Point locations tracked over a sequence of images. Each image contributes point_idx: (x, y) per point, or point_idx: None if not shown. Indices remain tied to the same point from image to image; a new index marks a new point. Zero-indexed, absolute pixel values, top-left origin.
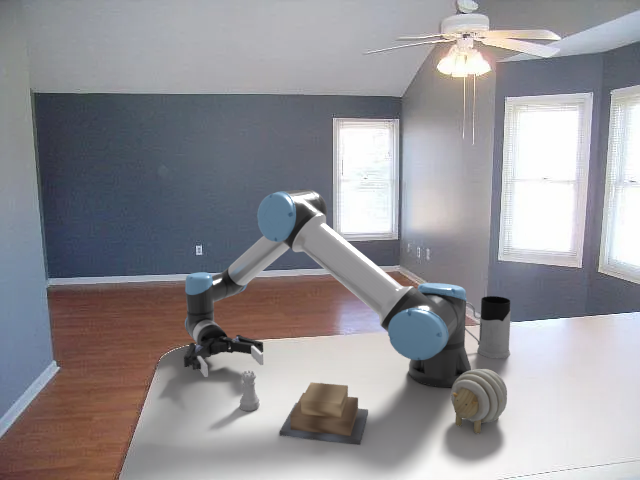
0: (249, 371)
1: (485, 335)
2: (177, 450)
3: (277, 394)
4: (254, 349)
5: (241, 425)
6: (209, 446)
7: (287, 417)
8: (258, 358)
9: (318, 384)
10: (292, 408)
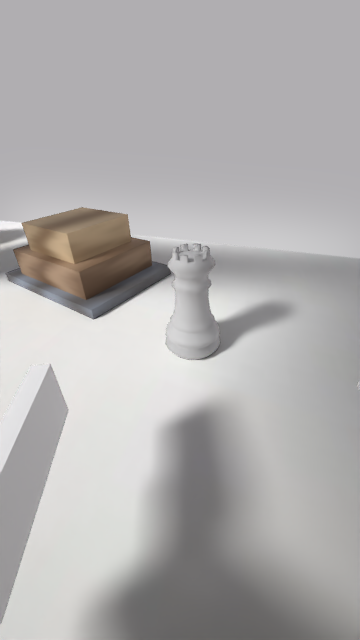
0: (183, 256)
1: None
2: (342, 279)
3: (92, 374)
4: (5, 464)
5: (226, 301)
6: (286, 277)
7: (139, 283)
8: (50, 415)
9: (60, 229)
10: (112, 297)
